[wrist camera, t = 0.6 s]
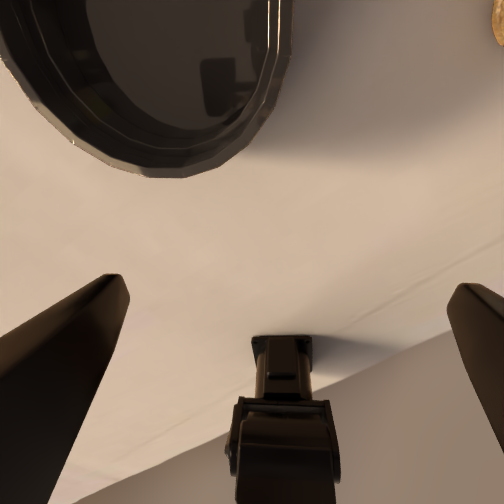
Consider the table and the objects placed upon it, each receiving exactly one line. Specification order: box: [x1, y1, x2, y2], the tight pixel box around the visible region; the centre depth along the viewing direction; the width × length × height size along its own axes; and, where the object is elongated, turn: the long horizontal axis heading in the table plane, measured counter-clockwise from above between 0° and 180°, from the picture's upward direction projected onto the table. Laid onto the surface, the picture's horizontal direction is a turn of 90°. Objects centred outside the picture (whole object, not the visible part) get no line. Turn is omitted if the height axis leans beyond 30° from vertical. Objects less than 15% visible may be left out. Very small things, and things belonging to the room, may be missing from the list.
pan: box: [0, 0, 294, 178], centre depth 14 cm, size 13×13×4 cm
